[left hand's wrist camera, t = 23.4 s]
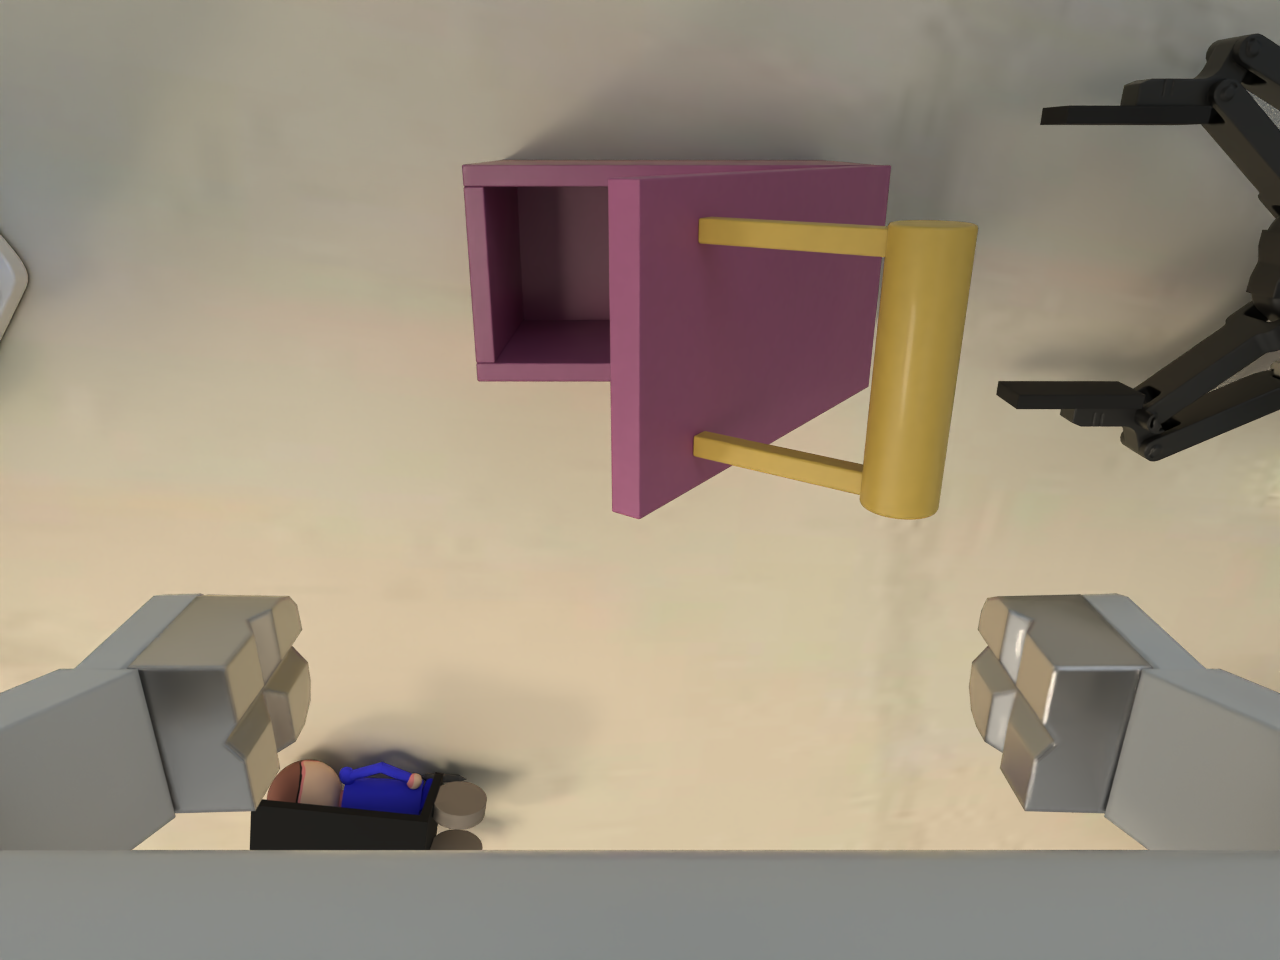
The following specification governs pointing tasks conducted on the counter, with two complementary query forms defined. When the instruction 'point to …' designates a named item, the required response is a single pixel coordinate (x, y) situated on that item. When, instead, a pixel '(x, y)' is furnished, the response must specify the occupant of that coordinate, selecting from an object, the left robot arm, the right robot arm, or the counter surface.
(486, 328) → the chest
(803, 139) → the counter surface
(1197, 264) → the counter surface
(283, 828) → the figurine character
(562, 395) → the counter surface
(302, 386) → the counter surface
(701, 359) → the lid
